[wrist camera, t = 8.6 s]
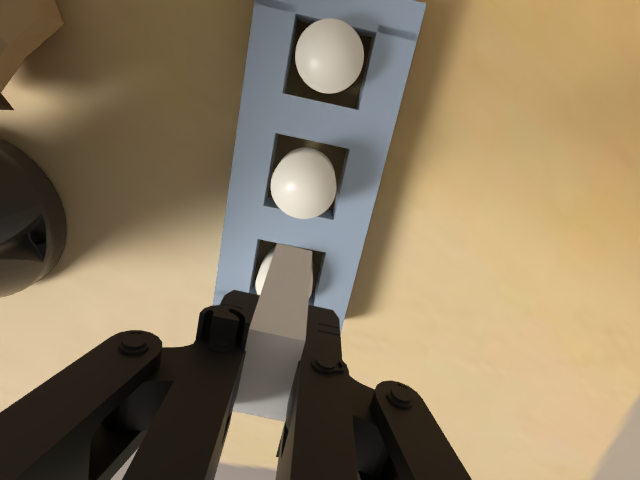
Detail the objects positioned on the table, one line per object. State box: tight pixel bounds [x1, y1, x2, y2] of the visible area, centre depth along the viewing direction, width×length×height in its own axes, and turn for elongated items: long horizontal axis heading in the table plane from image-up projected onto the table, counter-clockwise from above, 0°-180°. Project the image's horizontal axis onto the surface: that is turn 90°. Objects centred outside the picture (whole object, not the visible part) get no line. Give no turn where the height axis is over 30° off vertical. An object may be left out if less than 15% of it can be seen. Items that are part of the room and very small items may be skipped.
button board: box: [213, 0, 427, 334], centre depth 35 cm, size 28×12×3 cm, turn 168°
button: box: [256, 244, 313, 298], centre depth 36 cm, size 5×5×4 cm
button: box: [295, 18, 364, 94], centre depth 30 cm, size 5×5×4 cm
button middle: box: [271, 147, 336, 219], centre depth 32 cm, size 5×5×4 cm
